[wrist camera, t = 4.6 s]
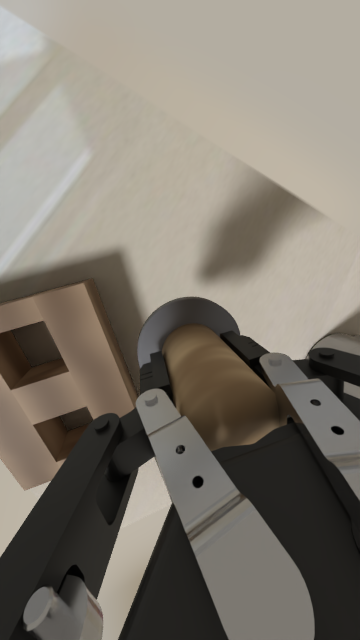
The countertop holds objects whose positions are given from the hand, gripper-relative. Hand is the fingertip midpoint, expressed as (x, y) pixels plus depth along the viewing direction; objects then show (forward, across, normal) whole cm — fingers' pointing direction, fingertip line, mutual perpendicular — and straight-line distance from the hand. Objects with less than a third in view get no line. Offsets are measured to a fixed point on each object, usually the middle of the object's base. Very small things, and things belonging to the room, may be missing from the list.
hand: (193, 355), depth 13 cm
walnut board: (+11, +13, +4) cm, 17 cm away
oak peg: (+5, 0, 0) cm, 5 cm away
